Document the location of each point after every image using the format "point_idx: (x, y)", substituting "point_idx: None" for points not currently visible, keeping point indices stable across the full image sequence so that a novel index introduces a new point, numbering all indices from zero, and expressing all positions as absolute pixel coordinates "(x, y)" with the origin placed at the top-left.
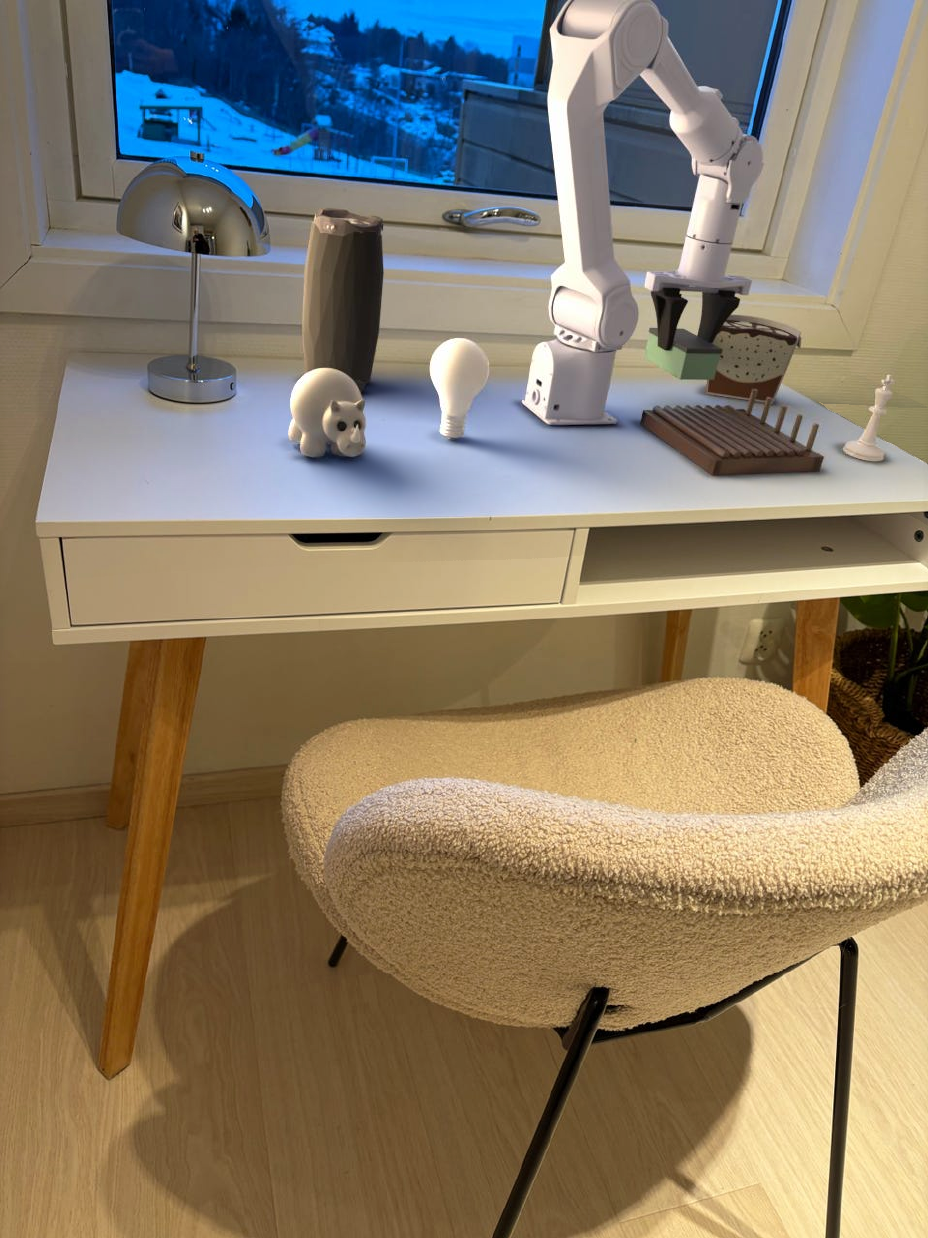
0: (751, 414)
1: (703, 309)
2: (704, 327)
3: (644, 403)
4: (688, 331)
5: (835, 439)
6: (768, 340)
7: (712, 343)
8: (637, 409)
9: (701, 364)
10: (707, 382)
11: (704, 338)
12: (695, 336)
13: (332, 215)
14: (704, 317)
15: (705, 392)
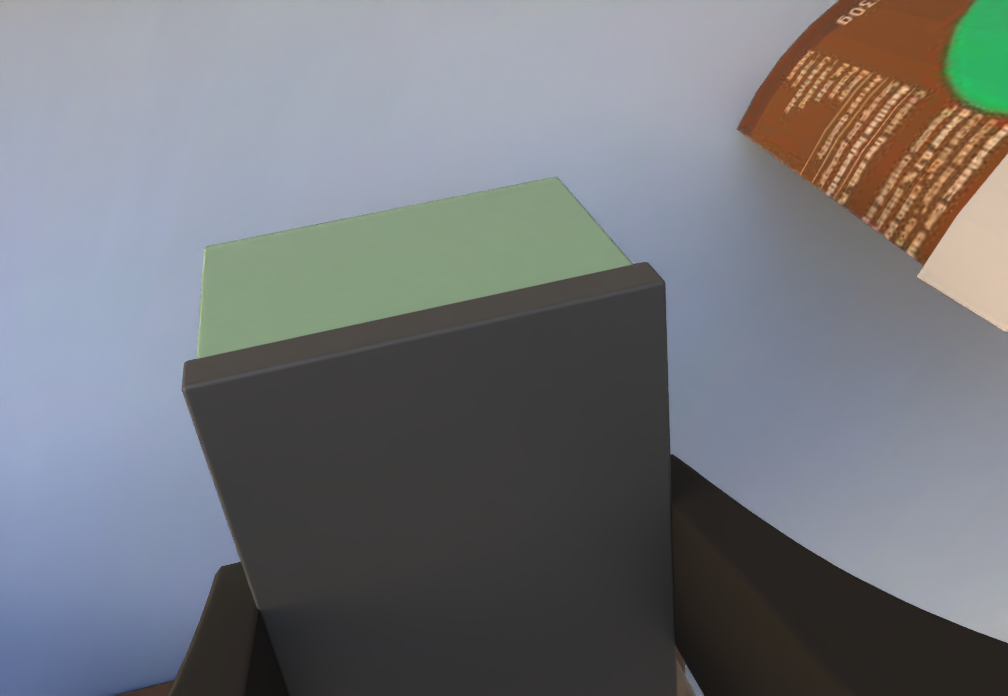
0: (680, 661)
1: (812, 689)
2: (724, 625)
3: (187, 406)
4: (658, 382)
5: (981, 623)
6: None
7: (929, 215)
8: (104, 515)
9: None
10: (768, 149)
11: (678, 600)
12: (632, 538)
13: None
14: (772, 661)
15: (747, 109)
